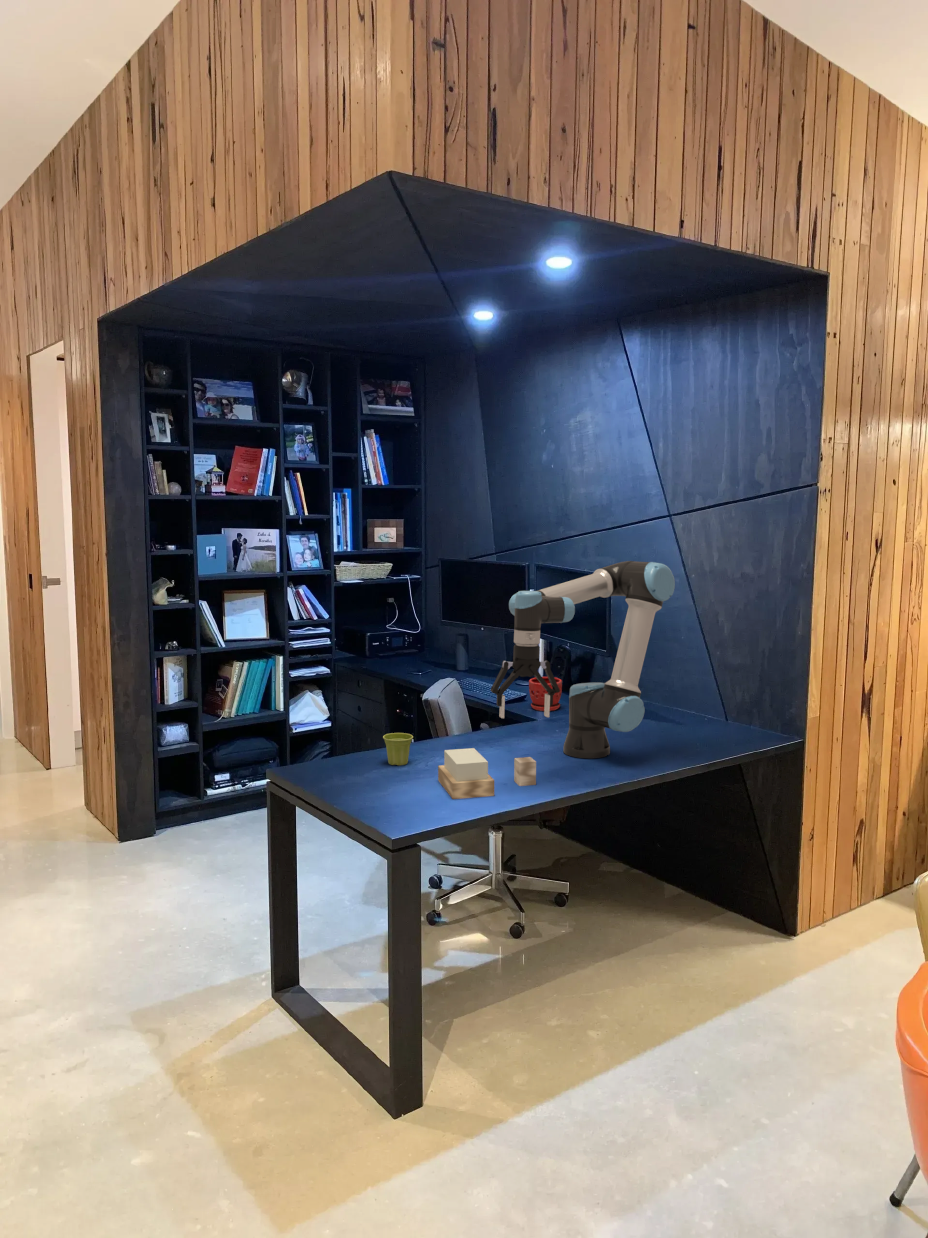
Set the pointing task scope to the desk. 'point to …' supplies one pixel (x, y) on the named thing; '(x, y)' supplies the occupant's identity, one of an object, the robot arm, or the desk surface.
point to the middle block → (466, 764)
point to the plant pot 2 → (543, 694)
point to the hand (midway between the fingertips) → (524, 717)
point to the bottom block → (465, 785)
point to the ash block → (525, 771)
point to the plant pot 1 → (398, 747)
